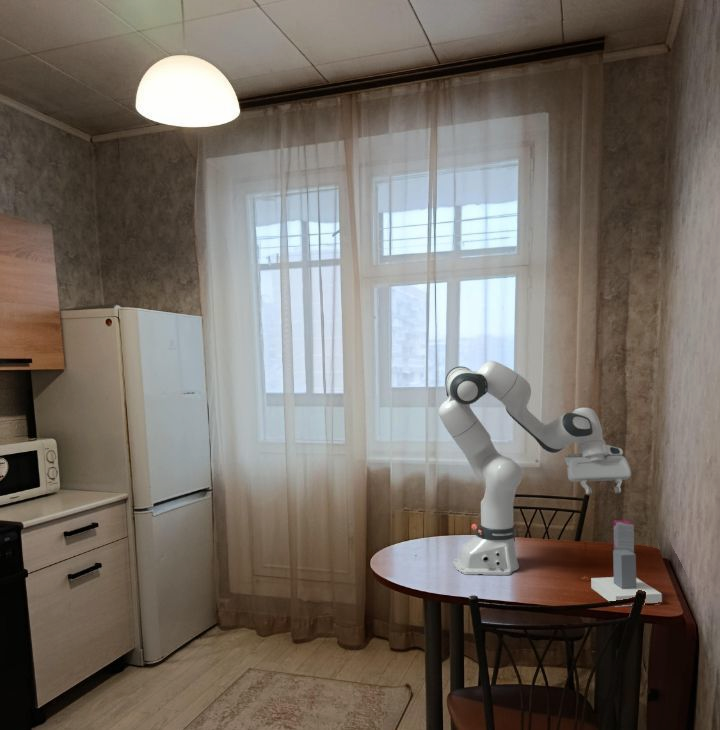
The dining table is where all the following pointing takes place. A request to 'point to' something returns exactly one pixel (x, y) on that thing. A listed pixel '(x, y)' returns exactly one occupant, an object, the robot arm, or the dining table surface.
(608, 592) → the plinth
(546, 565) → the dining table surface
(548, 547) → the dining table surface
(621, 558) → the grey rectangular block
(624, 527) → the supplement box
